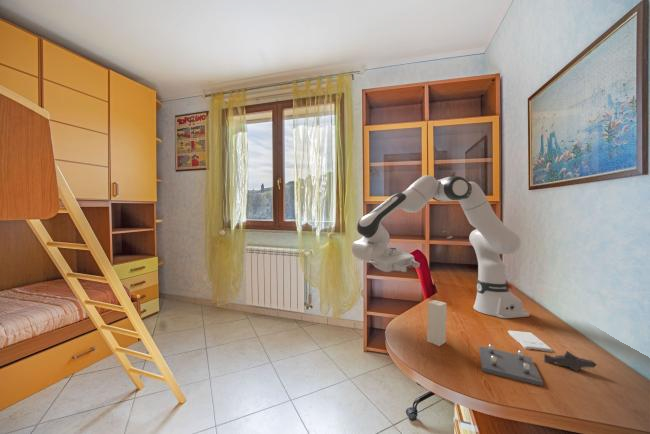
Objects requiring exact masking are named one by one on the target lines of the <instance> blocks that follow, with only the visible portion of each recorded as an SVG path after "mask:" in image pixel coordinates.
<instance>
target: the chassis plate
mask: <svg viewBox="0 0 650 434" xmlns="http://www.w3.org/2000/svg"><path fill="white" fill-rule="evenodd" d="M478 351H479V357H480V365H481V372H483V373H487V374H490V375H494V376H499V377H502V378H507V379H509V380H510V379H511V380H516V381H519V382H522V383H523V382H524V383H527V384H530V383H531V385H534V384H536V385H535V386H538V385H540V386H539V387H542V386H543V387H544V381H543V379H542V378H541V375H540V373H539V371H538V369H537V367H536V365H535V363H534V361H533V359H532V357H531V356H526V355H525V353H524V352H525V351H523V350H521V349H519V350H518V351H517V353H513V352H509V351H504V350H499V349H495V346H494V344H492V343H489V344H488V347H484V346H481V345H480V346H479V348H478Z"/></svg>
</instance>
